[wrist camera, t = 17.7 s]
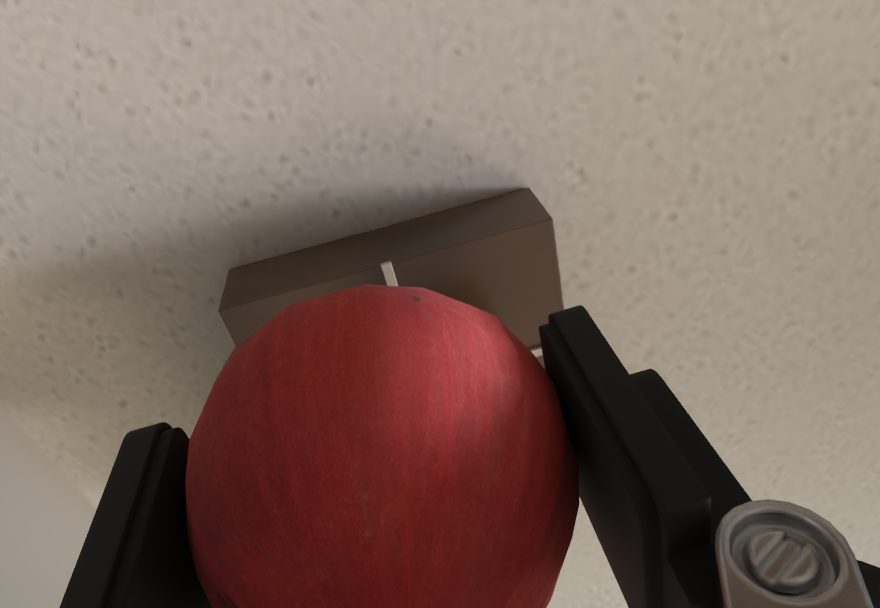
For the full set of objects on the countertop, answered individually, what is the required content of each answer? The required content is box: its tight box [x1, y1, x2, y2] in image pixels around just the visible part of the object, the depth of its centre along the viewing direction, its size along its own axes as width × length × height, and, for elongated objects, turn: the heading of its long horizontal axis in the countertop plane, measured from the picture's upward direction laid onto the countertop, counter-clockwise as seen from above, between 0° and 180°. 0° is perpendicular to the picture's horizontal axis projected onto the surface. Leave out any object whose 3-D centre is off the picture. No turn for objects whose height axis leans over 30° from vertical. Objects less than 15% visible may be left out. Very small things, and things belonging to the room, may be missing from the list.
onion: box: [185, 284, 579, 608], centre depth 9 cm, size 6×6×8 cm
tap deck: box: [219, 188, 565, 370], centre depth 25 cm, size 12×11×3 cm
